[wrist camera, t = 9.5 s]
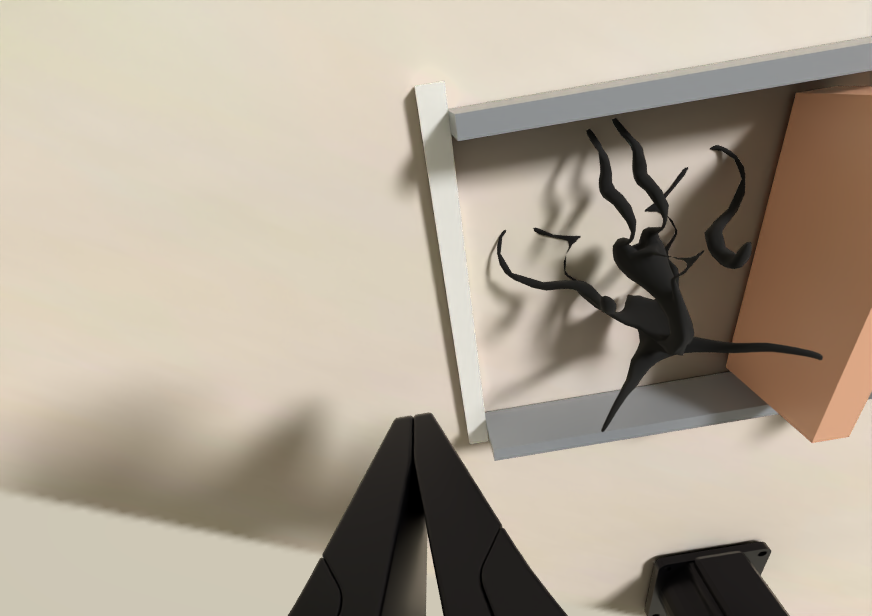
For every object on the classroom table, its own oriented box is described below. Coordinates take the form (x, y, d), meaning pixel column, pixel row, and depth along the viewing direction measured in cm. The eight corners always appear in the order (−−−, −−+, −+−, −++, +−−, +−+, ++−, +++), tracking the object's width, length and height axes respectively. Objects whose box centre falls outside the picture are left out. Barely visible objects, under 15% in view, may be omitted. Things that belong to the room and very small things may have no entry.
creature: (466, 179, 14) (540, 379, 16) (481, 178, 8) (588, 474, 11) (701, 79, 13) (746, 306, 15) (879, 9, 8) (908, 371, 10)
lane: (881, 369, 18) (1038, 463, 13) (468, 437, 18) (490, 553, 13) (1079, -29, 11) (1530, -102, 7) (414, 85, 11) (422, 89, 7)
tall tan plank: (754, 362, 17) (848, 436, 13) (725, 367, 17) (812, 442, 13) (837, 85, 12) (1024, 87, 8) (796, 92, 12) (963, 97, 8)
